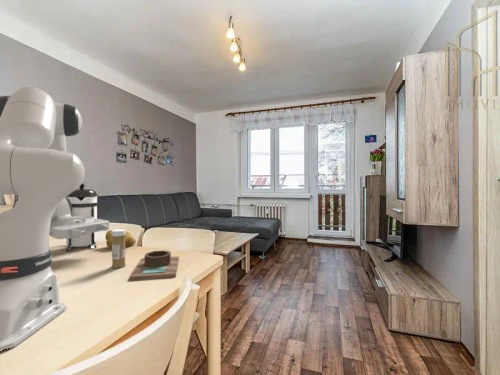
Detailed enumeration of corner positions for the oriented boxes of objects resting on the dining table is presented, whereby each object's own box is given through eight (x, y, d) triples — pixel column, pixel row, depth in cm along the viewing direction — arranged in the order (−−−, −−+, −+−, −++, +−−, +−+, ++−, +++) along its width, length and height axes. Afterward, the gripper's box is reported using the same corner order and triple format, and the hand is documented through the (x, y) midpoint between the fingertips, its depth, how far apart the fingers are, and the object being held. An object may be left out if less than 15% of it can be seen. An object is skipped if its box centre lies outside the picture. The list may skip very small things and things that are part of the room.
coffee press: (109, 244, 123) (109, 183, 122) (78, 253, 107) (78, 183, 107) (83, 241, 128) (83, 183, 127) (50, 249, 113) (49, 183, 112)
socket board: (175, 276, 82) (175, 262, 82) (129, 280, 79) (129, 265, 79) (178, 259, 100) (178, 247, 100) (141, 261, 97) (141, 249, 97)
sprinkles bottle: (128, 266, 92) (128, 229, 92) (115, 269, 88) (115, 231, 88) (121, 263, 94) (121, 228, 94) (109, 267, 91) (108, 230, 90)
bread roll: (134, 243, 126) (134, 227, 126) (137, 247, 118) (137, 230, 118) (105, 246, 119) (105, 229, 119) (106, 251, 111) (106, 233, 111)
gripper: (42, 223, 91) (67, 227, 86) (95, 216, 110) (118, 218, 105) (42, 240, 91) (67, 245, 86) (95, 230, 110) (118, 233, 105)
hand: (95, 230), depth 96 cm, fingers open, 8 cm apart
